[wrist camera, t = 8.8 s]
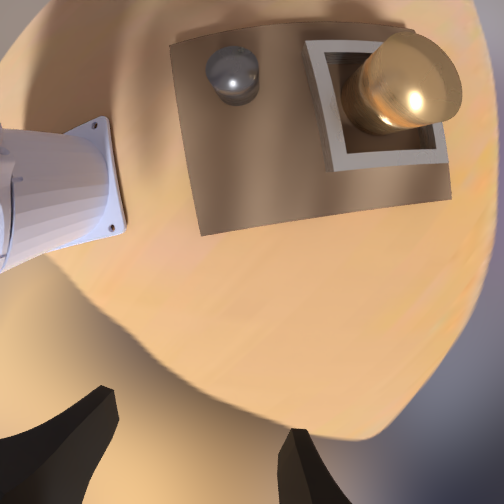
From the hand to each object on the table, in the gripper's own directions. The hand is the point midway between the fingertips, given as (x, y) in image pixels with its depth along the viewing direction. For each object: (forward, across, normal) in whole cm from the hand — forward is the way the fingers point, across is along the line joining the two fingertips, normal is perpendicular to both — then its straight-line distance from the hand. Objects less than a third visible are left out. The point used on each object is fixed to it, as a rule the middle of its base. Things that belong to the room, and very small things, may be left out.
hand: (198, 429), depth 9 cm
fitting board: (+9, -3, -14) cm, 17 cm away
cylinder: (+8, -6, -15) cm, 18 cm away
